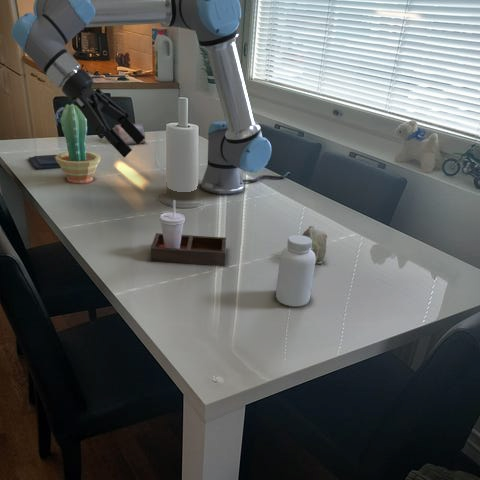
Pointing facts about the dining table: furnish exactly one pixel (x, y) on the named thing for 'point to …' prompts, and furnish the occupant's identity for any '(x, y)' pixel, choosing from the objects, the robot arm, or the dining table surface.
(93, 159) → the potted cactus
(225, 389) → the dining table surface
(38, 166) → the wallet
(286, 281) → the pill bottle
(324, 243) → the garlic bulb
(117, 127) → the food item
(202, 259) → the tray
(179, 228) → the smoothie
